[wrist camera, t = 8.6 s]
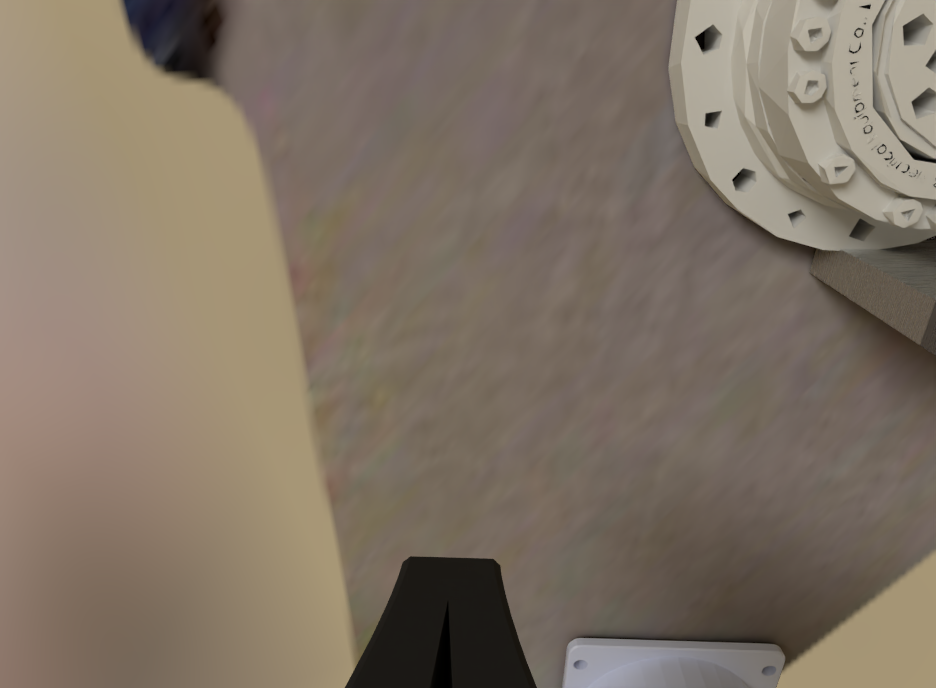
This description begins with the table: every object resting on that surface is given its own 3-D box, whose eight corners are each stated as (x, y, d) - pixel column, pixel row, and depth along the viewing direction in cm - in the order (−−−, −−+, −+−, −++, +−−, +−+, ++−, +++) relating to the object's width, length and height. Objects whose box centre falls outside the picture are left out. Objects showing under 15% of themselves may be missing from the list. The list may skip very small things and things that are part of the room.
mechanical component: (1014, 234, 17) (1179, -239, 13) (1178, 289, 13) (1497, -375, 9) (646, 240, 17) (692, -221, 13) (696, 296, 13) (786, -343, 9)
